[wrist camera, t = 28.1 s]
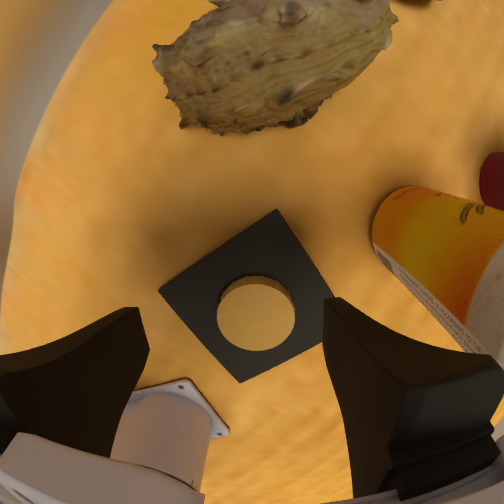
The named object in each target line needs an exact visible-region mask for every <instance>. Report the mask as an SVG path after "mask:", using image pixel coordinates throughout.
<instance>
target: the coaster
mask: <svg viewBox="0 0 504 504" xmlns="http://www.w3.org/2000/svg"><path fill="white" fill-rule="evenodd" d="M262 275H263V276H264V277H267V278H270V279H273V280H275V281H276V280H277V281H278V283H280V284H281V285H282V286H283V287H284V288H285V289H286V290H289V294H290V296H291V299H292V302H294V305H295V310H294V312H295V323H294V327H293V329H292V331H291V333H290V335H289V336H288V337H287V338H286V339H285V340H284V341H283V342H282V343H281V344H279V345H277V346H276V347H273V348H271V349H267V350H262V351H251V350H246V349H242V348H240V347H237V346H235V345H234V344H232V343H231V342H229V341H228V340H227V339H226V338H225V337H224V335H223V334H222V333H221V331H220V329H219V326H218V322H217V307H218V304H220V300H221V296H222V293H223V291H224V292H225V290H226V289H227V288H228V287H229V286H230V285H231V284H232V282H233V281H234V282H235V281H237V280H239V279H242V278H245V277H246V276H248V277H249V276H262ZM158 292H159V293H160V294H161V295H162V297H163V298H164V299H165V300H166V302H167V303H168V304H169V305H170V306H171V308H172V309H173V310H174V311H175V312H176V314H177V315H178V316H179V317H180V318H181V319H182V321H183V322H184V323H185V324H186V325H187V326H188V328H189V329H190V330H191V331H192V332H193V333H194V334H195V336H196V337H197V338H198V339H199V340H200V341H201V342H202V343H203V345H204V346H205V347H206V348H207V349H208V350H209V351H210V352H211V353H212V354H213V356H214V357H215V358H216V359H217V360H218V361H219V362H220V363H221V364H222V365H223V366H224V367H225V368H226V370H227V371H228V372H229V373H230V374H231V375H232V376H233V377H234V378H235V379H236V380H237V381H238V382H239V383H242V382H244V381H246V380H248V379H251V378H253V377H255V376H257V375H259V374H261V373H263V372H265V371H267V370H269V369H271V368H273V367H275V366H277V365H279V364H281V363H283V362H285V361H287V360H289V359H291V358H293V357H295V356H297V355H299V354H301V353H302V352H304V351H306V350H308V349H310V348H312V347H314V346H315V345H317V344H319V343H321V342H323V314H324V299H326V298H335V297H334V295H333V294H332V292H331V291H330V289H329V287H328V286H327V284H326V283H325V281H324V280H323V278H322V276H321V275H320V273H319V272H318V270H317V269H316V267H315V265H314V264H313V262H312V261H311V259H310V258H309V256H308V255H307V253H306V252H305V250H304V249H303V247H302V246H301V244H300V242H299V241H298V239H297V238H296V236H295V235H294V233H293V232H292V230H291V229H290V227H289V226H288V224H287V223H286V221H285V220H284V218H283V217H282V215H281V214H280V213H279V211H278V210H277V209H276V210H274V211H273V212H271V213H270V214H268V215H266V216H265V217H263V218H262V219H260V220H259V221H257V222H256V223H254V224H253V225H251V226H250V227H248V228H247V229H245V230H244V231H242V232H241V233H239V234H238V235H236V236H235V237H233V238H232V239H231V240H229V241H228V242H226V243H225V244H223V245H222V246H220V247H219V248H217V249H216V250H214V251H213V252H211V253H210V254H208V255H207V256H205V257H204V258H202V259H201V260H200V261H198V262H197V263H195V264H194V265H192V266H191V267H189V268H188V269H186V270H185V271H183V272H182V273H181V274H179V275H178V276H176V277H175V278H173V279H172V280H170V281H169V282H168V283H166V284H165V285H163V286H162V287H160V289H159V290H158Z"/></svg>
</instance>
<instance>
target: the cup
mask: <svg viewBox="0 0 504 504" xmlns="http://www.w3.org/2000/svg"><path fill="white" fill-rule="evenodd" d="M480 191H481V195H482V199H483V201H484V203H485V205H486V206H489V207H492V208H495V209H498V210H501V211H504V152H498V153H493V154H491V155H490V156H489V157H488V158H487V159H486V161H485V162H484V164H483V167H482V170H481V174H480Z"/></svg>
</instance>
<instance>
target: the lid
mask: <svg viewBox="0 0 504 504" xmlns="http://www.w3.org/2000/svg"><path fill="white" fill-rule="evenodd" d="M294 310H295V305H294V302H292V299H291V296H290V294H289V290H286V289H285V288H284V287H283V286H282V285H281V284H280V283H278V281H277V280H276V281H275V280H273V279H270V278H267V277H264V276H263V275H262V276H249V277H248V276H246V277H245V278H242V279H239V280H237V281H235V282H234V281H233V282H232V284H231V285H230V286H229V287H228V288H227V289H226V290H225V292H224V291H223V293H222V296H221V300H220V304H218V307H217V322H218V326H219V329H220V331H221V333H222V334H223V335H224V337H225V338H226V339H227V340H228V341H229V342H231V343H232V344H234V345H235V346H237V347H240V348H242V349H246V350H251V351H262V350H267V349H271V348H273V347H276V346H277V345H279V344H281V343H282V342H283V341H284V340H285V339H286V338H287V337H288V336H289V335H290V333H291V331H292V329H293V327H294V323H295V312H294Z"/></svg>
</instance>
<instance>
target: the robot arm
mask: <svg viewBox="0 0 504 504" xmlns="http://www.w3.org/2000/svg"><path fill="white" fill-rule="evenodd" d="M322 344H323V350H324V356H325V361H326V366H327V369H328V372H329V375H330V378H331V381H332V384H333V387H334V390H335V394H336V397H337V400H338V403H339V406H340V409H341V413H342V417H343V422H344V427H345V433H346V439H347V445H348V452H349V459H350V468H351V477H352V487H353V499H349V500H343V501H336V502H329V503H322V504H504V435H503V436H501V437H500V438H499V439H498V440H497V441H496V442H494V440H493V438H492V437H491V434H492V433H493V432H494V427H493V425H492V424H491V422H490V420H491V418H492V416H493V414H494V413H495V411H496V409H497V407H498V405H499V403H500V401H501V400H502V397H503V395H504V370H503V368H502V367H501V366H500V365H499V364H498V363H497V361H496V360H495V359H494V358H493V357H492V356H491V355H489V354H477V353H466V352H459V351H454V350H449V349H444V348H440V347H436V346H432V345H429V344H426V343H423V342H419V341H417V340H414V339H411V338H409V337H406V336H404V335H402V334H400V333H397V332H395V331H393V330H391V329H389V328H387V327H386V326H384V325H382V324H380V323H378V322H377V321H375V320H373V319H372V318H370V317H369V316H367V315H366V314H364V313H363V312H361V311H360V310H358V309H357V308H355V307H354V306H352V305H351V304H350V303H348V302H347V301H345V300H344V299H342V298H340V297H338V298H326V299H324V314H323V343H322ZM149 351H150V348H149V344H148V341H147V337H146V334H145V330H144V327H143V323H142V319H141V316H140V312H139V308H138V307H124V308H121V309H119V310H117V311H114V312H112V313H110V314H108V315H106V316H105V317H103V318H101V319H99V320H97V321H95V322H93V323H91V324H90V325H88V326H86V327H84V328H82V329H80V330H78V331H76V332H74V333H72V334H70V335H68V336H65V337H63V338H61V339H59V340H56V341H53V342H51V343H48V344H46V345H43V346H39V347H36V348H32V349H29V350H25V351H21V352H17V353H12V354H6V355H0V504H204V499H205V494H203V493H200V489H201V483H202V478H203V472H204V467H205V462H206V456H207V451H208V445H209V440H210V439H212V438H218V437H223V436H228V435H229V434H230V430H229V429H228V428H227V426H226V425H225V424H224V423H223V422H222V420H221V419H220V418H219V417H218V415H217V414H216V413H215V412H214V410H213V409H212V408H211V407H210V405H209V404H208V403H207V402H206V400H205V399H204V398H203V397H202V395H201V394H200V393H199V391H198V390H197V389H196V387H195V386H194V385H193V383H192V382H191V381H190V380H188V379H183V380H179V381H175V382H171V383H167V384H163V385H159V386H155V387H151V388H146V389H142V390H137V391H133V390H134V388H135V386H136V384H137V382H138V380H139V378H140V376H141V374H142V372H143V370H144V367H145V364H146V361H147V358H148V354H149ZM180 385H182V386H180Z"/></svg>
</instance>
